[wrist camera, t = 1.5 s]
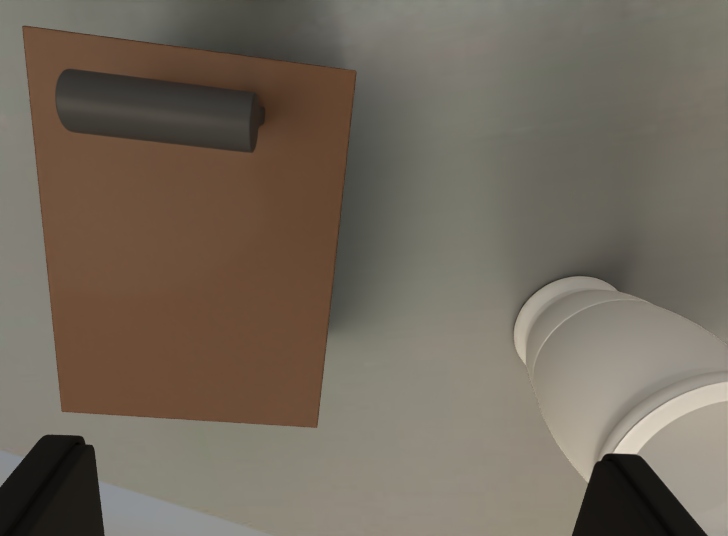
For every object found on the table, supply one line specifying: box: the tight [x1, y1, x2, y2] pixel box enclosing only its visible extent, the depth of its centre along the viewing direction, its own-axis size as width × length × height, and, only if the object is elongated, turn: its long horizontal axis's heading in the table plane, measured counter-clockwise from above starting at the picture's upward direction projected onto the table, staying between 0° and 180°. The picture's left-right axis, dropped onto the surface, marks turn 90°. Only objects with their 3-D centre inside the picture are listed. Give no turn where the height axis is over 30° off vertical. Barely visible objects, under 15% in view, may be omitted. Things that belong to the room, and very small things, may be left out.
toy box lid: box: [22, 26, 356, 428], centre depth 20 cm, size 18×13×6 cm
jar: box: [514, 276, 728, 536], centre depth 29 cm, size 11×10×15 cm
